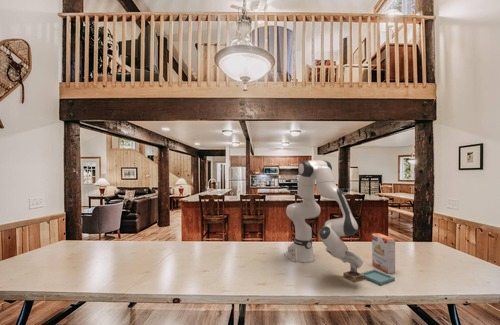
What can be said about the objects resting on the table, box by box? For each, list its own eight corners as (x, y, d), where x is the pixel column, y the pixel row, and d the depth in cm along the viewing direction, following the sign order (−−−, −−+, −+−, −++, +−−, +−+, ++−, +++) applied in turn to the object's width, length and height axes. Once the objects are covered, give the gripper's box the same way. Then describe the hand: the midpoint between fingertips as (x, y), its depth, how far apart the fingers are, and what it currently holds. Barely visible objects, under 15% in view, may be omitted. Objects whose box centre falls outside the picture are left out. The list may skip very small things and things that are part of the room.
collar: (343, 276, 151) (343, 272, 151) (352, 274, 155) (352, 270, 155) (354, 282, 144) (354, 277, 144) (364, 279, 148) (364, 274, 148)
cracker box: (371, 265, 169) (371, 233, 169) (379, 264, 170) (379, 232, 170) (387, 274, 155) (386, 239, 155) (395, 273, 156) (395, 238, 156)
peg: (349, 277, 150) (348, 256, 150) (353, 276, 152) (353, 255, 152) (354, 280, 147) (354, 258, 147) (358, 278, 149) (358, 257, 149)
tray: (359, 276, 151) (359, 273, 151) (374, 272, 157) (374, 269, 157) (380, 285, 140) (380, 282, 140) (394, 280, 146) (394, 277, 146)
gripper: (357, 250, 136) (370, 265, 140) (328, 240, 154) (340, 254, 158) (352, 260, 134) (364, 275, 138) (323, 249, 152) (335, 263, 156)
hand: (351, 264), depth 148 cm, fingers open, 8 cm apart
